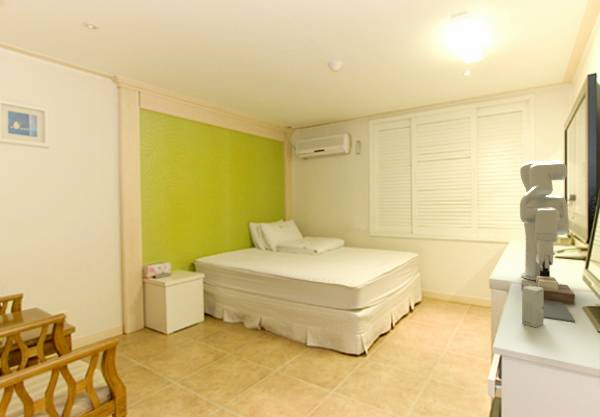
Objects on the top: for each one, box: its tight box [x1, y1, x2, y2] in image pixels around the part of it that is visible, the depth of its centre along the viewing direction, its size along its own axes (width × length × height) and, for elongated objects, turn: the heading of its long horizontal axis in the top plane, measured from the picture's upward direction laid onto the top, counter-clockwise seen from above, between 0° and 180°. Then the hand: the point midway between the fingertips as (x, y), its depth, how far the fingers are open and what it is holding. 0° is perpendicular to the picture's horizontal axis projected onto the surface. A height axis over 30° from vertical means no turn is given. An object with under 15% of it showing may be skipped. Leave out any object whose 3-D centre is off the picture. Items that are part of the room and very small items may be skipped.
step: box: [520, 279, 576, 306], centre depth 135 cm, size 14×16×4 cm
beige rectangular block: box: [535, 276, 559, 292], centre depth 133 cm, size 9×6×4 cm, turn 150°
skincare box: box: [521, 286, 545, 328], centre depth 108 cm, size 6×4×12 cm
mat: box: [543, 300, 576, 323], centre depth 120 cm, size 20×12×1 cm, turn 150°
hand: (544, 279), depth 139 cm, fingers closed
